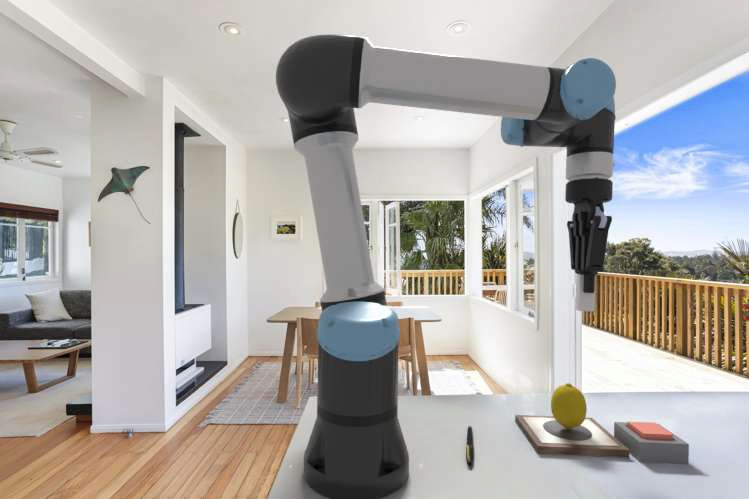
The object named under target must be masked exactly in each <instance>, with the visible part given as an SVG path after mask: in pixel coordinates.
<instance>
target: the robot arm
mask: <svg viewBox="0 0 749 499" xmlns="http://www.w3.org/2000/svg"><path fill="white" fill-rule="evenodd" d="M275 70H276V71H275V84H276V89H277V93H278V95H279V97H280V99H281V101H282V102H283V105H284V106H285V109H286V112H287V114H288V119H289V124H290V132H291V136H292V142H293V148H294V150H295V151H296V152H298V153H299V154H300V155H302V156H303V157H304V160H305V167H306V173H307V178H308V184H309V185H308V186H309V191H310V197H311V201H312V209H313V213H314V221H315V225H316V234H317V237H318V244H319V249H320V250H319V251H320V257H321V262H322V268H323V274H324V280H325V285H326V290H325V292H324V293H323V295H322V296H321V297H320V298H319V301H320V307H321V313H320V315H319V318H318V326H317V329H316V338H317V342H318V343H317V381H316V382H317V387H316V388H317V389H316V390H317V391H316V398H317V399H316V401H317V402H316V418H315V421H314V424H313V427H312V429H311V433H310V436H309V439H308V441H307V445H306V448H305V451H304V454H303V478H304V479H305V480H304V481H305V482H306V483H307V485H308V486H309V487H310V488H312V490H314V491H316V492H317V493H319V494H321V495H323V496H326V497H329V498H332V499H374V498H376V499H379V498H378V497H380V498H382V496H383V497H386V496H388V495H390V494H392V493H394V492H396V491H397V490H399V489H400V488H401V487H403V485H404V484H405V483H406V482H407V480H408V478H409V474H410V453H409V451H408V448H407V444H406V440H405V437H404V433H403V431H402V430H403V429H402V427H401V424H400V419H399V416H398V412H399V411H398V409H399V408H398V405H399V404H398V400H399V397H398V396H399V390H398V389H399V341H400V340H399V339H400V338H401V329H400V325H399V316H398V314H397V313H396V311H395V310H394V309H392V308H391V307H389V306H388V302H387V299H386V293H385V288H384V287H383V286H381V285H380V284H379V283H377V281H375V279H374V273H373V266H372V261H371V254H370V248H369V243H368V242H369V241H368V236H367V235H368V234H367V230H366V225H365V220H364V219H365V218H364V213H363V207H362V201H361V194H360V190H359V183H358V177H357V171H356V165H355V160H354V152H353V149H354V147H355V146H356V145H357V143H358V142H359V141H360V140H359V133H358V128H357V121H356V114H355V109H362V108H364V107H365V106H366V105H367V104H369V103H373V104H383V105H390V106H391V105H392V106H399V107H400V106H401V107H410V108H418V109H425V110H427V109H428V110H436V111H446V112H454V113H455V112H456V113H464V114H473V115H482V116H492V117H500V118H501V121H500V136H501V139H502V141H503V143H504V144H505V145H509V146H517V147H518V146H519V147H542V148H543V147H545V148H546V147H548V148H549V147H550V148H566V158H565V179H566V180H567V183H565V198H564V199H565V202H566V203H568V204H573V205H574V207H573V208H574V209H573V213H572V216H571V217H572V218H571V219H572V220H568V221H567V223H566V227H567V230H568V238H569V239H568V241H569V242H568V243H569V253H570V254H569V255H570V256H569V258H570V268H571V269H570V270H572V271H573V270H574V273H575V274H576V277H575V278H576V279H575V280H576V281H575V311H579V312H595V309H596V308H595V307H596V305H595V304H596V277H597V275H598V273H601V272H603V271H604V270H603V269H604V265H605V264H604V263H605V256H606V250H607V245H608V244H607V243H608V238H609V230H610V227H611V224H612V222H613V221H612V220H613V217H612V216H611V215H606V214H605V207H604V204H605V203H606V204H607V203H609V202H611V201H612V200H613V189H614V188H613V186H614V185H613V183H614V182H613V181H612V180H611V179H610V178H612V177H613V174H614V172H613V171H614V167H615V165H616V163H615V162H614V148H615V146H614V144H615V143H614V142H615V125H616V124H615V122H616V117H617V116H616V104H615V97H614V96H615V93H616V89H617V85H616V84H617V81H616V80H617V79H616V76H615V73H614V71H613V69H612V68H611V67H610V65H608V64H607V63H606V62H605V61H603V60H600V59H598V58H593V57H588V58H584V59H579V60H578V61H576V62H574V63H572V64H570V65H568V66H567V68H558V67H549V66H540V65H533V64H532V65H531V64H523V63H522V64H521V63H516V62H515V63H514V62H506V61H500V60H499V61H497V60H491V59H480V58H473V57H465V56H458V55H447V54H440V53H439V54H438V53H431V52H422V51H414V50H407V49H397V48H390V47H380V46H374V45H373V43H372V42H371V41H370V40H369V37H367V36H365V37H364V36H358V35H357V36H356V35H348V34H347V35H346V34H334V33H333V34H318V35H316V34H315V35H310V36H308V37H303V38H301V39H299V40H297V41H295V42H294V43H293V44H291V45H290V46H288V47H287V48H286V50H285V51H284V52H283V53H282V55H281V56H280V58H279V61H278V63H277V66H276V69H275Z"/></svg>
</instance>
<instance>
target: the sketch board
mask: <svg viewBox="0 0 749 499" xmlns="http://www.w3.org/2000/svg"><path fill="white" fill-rule="evenodd" d="M514 417H515V418H514V422H515V423H516V424H517V426H518V427H519V429H520V431H521V432H522V433H523V435H524V436H525V438H526V439H527V440H528V442H529V443H530V445H531V446H532V448H533V449H534V451H535V452H536V453H537V454H539V455H560V456H580V457H581V456H583V457H605V458H606V457H607V458H608V457H609V458H626V459H627V458H628V459H629V458H630V453H629V449H628V448H626V447H625V446H624V445H623V444H622V443H621V442H619V441H618V440H617V439H616V438H615V437H614V435H613V434H611V433H610V432H609V431H608V430H606V428H605V427H603V426H602V425H601V424H600V423H599V422H598V421H596V419H594V418H593V417H585V420H584V422H583V423H582V424H581V425H580V426H578V427H574V428H572V429H571V430H567V429H566V428H565V427H564V426H563V425H561V424H559V423H558V422H557V421H556V419H555V418H554V416H553V415H552V416H551V415H547V416H546V415H525V414H524V415H522V414H515V416H514Z"/></svg>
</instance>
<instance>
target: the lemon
mask: <svg viewBox="0 0 749 499" xmlns="http://www.w3.org/2000/svg"><path fill="white" fill-rule="evenodd" d="M585 398H586V397H585V396H584V394H583V393H582V391H581V390H580V389H579V388H577V387H576V386H574V385H572V383H571V382H570V383H569V382H567V383H564V384H561V385H559V386H558V387H556V388H555V389H554V391H553V392H552V395H551V399H550V400H551V401H550V410H551V413H552V414H551V415H552V416H554V418H555V419H556V421H557V422H558V423H559V424H561V425H563V426H564V427H565V428H566V429H567V430H571V429H572V428H574V427H578V426H580V425H581V424H582V423H583V422H584V420H585V418H587V411H588V409H587V402H586V399H585Z"/></svg>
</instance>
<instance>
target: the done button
mask: <svg viewBox="0 0 749 499" xmlns="http://www.w3.org/2000/svg"><path fill="white" fill-rule="evenodd" d="M626 422H627V427H628V428H629V429H630V430H632V431H633V432H634V433H636V434H637V435H638V436H640V437H641V438H642V439H656V440H673V434H674V433H673V434H671V433H672V432H671V431H670V432H671V433H670V432H668V431H669V430H668V429H667V430H668V431H667V430H665V429H666V428H665V427H664V428H665V429H664V428H662V427H663V426H662V425H661V426H662V427H661V426H659V425H660V424H659V423H656V422H653V421H652V422H649V421H648V422H647V421H626ZM658 424H659V425H658Z"/></svg>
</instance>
